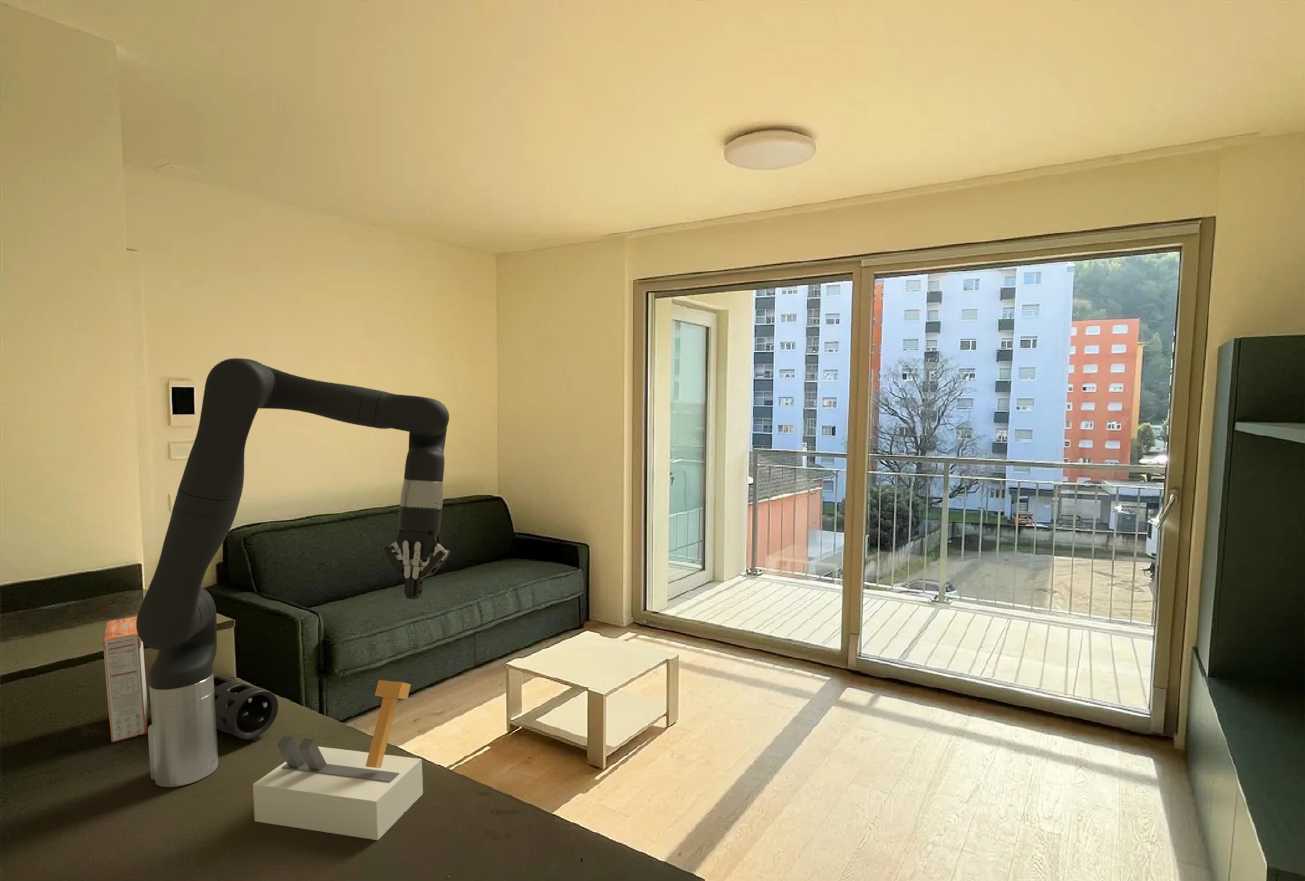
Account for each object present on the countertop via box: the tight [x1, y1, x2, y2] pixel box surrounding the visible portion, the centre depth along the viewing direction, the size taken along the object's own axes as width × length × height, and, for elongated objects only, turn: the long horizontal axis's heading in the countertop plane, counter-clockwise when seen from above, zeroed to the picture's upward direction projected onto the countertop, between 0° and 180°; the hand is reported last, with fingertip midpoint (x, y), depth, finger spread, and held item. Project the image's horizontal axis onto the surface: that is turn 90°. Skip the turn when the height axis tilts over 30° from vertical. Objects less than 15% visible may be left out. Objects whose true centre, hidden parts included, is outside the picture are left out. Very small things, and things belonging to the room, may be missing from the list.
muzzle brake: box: [213, 673, 279, 742], centre depth 135 cm, size 10×28×10 cm, turn 62°
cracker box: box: [102, 616, 148, 743], centre depth 136 cm, size 14×6×21 cm, turn 36°
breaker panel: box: [252, 735, 424, 841], centre depth 107 cm, size 22×12×12 cm, turn 77°
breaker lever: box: [366, 679, 412, 768], centre depth 109 cm, size 4×3×13 cm, turn 77°
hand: (412, 598), depth 123 cm, fingers closed
